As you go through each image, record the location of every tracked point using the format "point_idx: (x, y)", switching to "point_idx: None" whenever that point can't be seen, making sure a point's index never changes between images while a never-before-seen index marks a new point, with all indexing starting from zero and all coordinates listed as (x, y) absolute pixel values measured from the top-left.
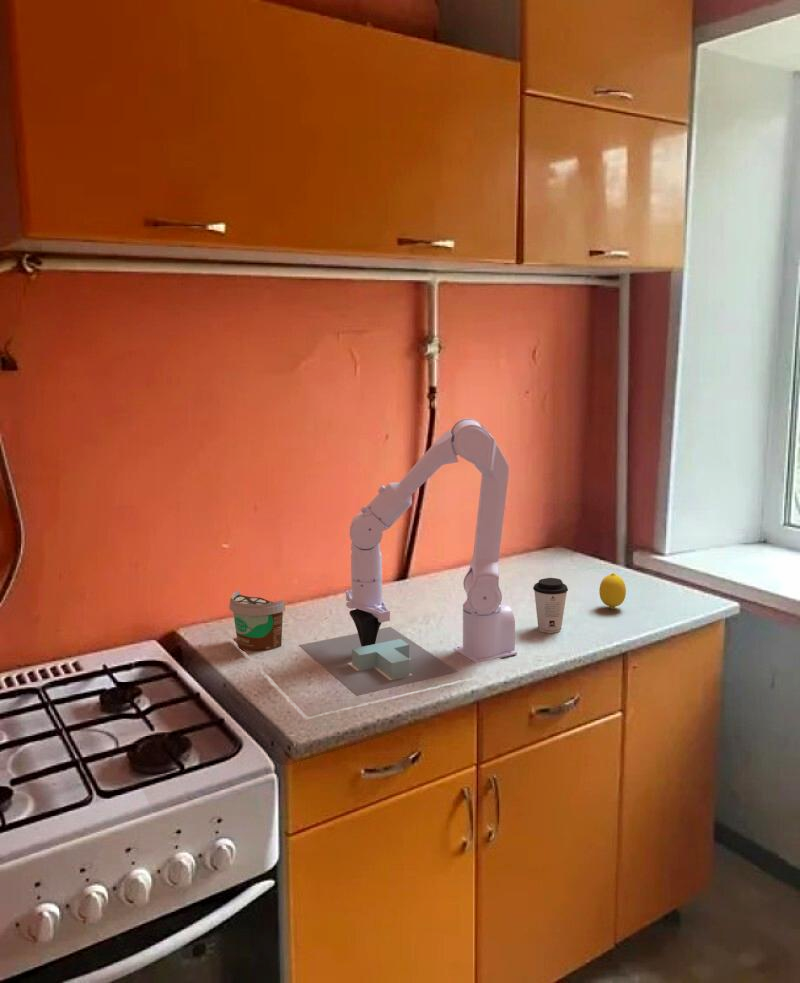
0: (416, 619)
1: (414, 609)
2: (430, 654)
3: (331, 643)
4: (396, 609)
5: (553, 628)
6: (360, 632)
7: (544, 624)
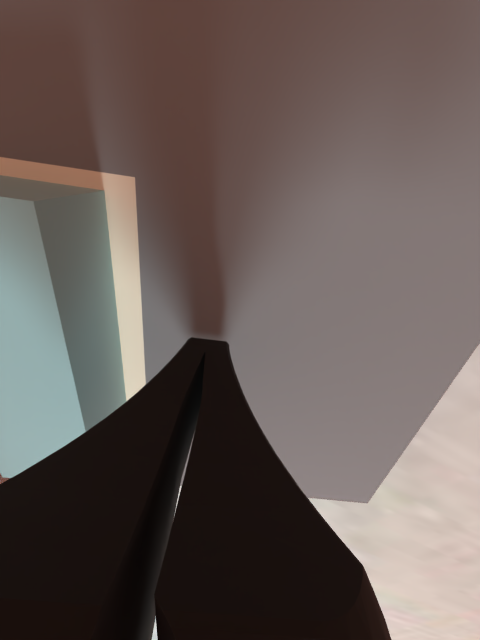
0: (359, 550)
1: (415, 570)
2: None
3: (454, 271)
4: (460, 554)
5: None
6: (180, 398)
7: None
